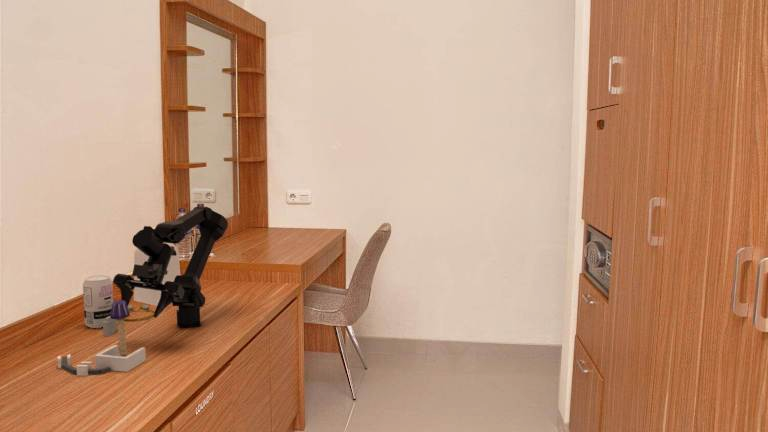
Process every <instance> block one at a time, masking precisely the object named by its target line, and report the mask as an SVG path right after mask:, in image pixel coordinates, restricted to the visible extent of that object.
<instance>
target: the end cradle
mask: <svg viewBox="0 0 768 432" xmlns="http://www.w3.org/2000/svg"><path fill="white" fill-rule="evenodd" d="M145 361H147V360H146V347H140V348H138V349H136V350H134V351H133V352H131V353H129V354H127V356H126V357H121V356H120V354H119V344H114V345H112V346H110V347H108V348H105V350H102V351H101V352H99V353H97V354H95V355H94V369H101V368H105V367H110V369H111V371H114V372H121V373H122V372H124V373H128V372H130V371H131V370H133V369H134V368H136V367H137V366H139V365H141V364H142V363H144V362H145Z"/></svg>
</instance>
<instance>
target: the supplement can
mask: <svg viewBox="0 0 768 432" xmlns="http://www.w3.org/2000/svg"><path fill="white" fill-rule="evenodd" d="M113 287H114V286H113V279H112V278H111V277H110V276H109V275H92V276H88V277H86V278H84V281H83V283H82V296H83V311H84V312H83V315H84V325H85V326H86V327H87V326H88V327H90V328H89V329H93V328H96V329H102V328H101V327H103V322H104V321H106V317H108V316H110V314H111V309H112V304H113V302H114V290H113V289H114V288H113ZM88 327H87V328H88Z"/></svg>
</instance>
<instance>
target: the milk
mask: <svg viewBox="0 0 768 432" xmlns="http://www.w3.org/2000/svg"><path fill="white" fill-rule="evenodd" d="M152 228H153V229H155V228H156V227H152ZM166 244H168V245H169V246H173V247H174V249H175V251H176V256H171V258H170V261H169V264H168V267H167V271H168V272H167V275H164V278H163V281H162V284H165V282H166V281H171V282H174V279H175V277H176V276H177V275H180V276H181V267H180V255H179V249H178V246H176V244H174V243H166ZM133 257H134V260H133V265H134V264H136V265H143V264H144V262H145V261H147V260H148V258H149V256H147V255H145V254H144V253H143V252H141V251H140V250H139V249H138V248H137V247H135V250H134V255H133ZM133 279H134V280H138V281H140V279H138V278H137V276H133ZM133 292H134V293H133V301H135V302H139V303H143V304H146V305H150V306H151V305H152V306H154V307H155V306H156V307H157V305H158V303H159V300H160V297H161V291H158V290H151V289H145V288H138V287H135V288H134V289H133Z"/></svg>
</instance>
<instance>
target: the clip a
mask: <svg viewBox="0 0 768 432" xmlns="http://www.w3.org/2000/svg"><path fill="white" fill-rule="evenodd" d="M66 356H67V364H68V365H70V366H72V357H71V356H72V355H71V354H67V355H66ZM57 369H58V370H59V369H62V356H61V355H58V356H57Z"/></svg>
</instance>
